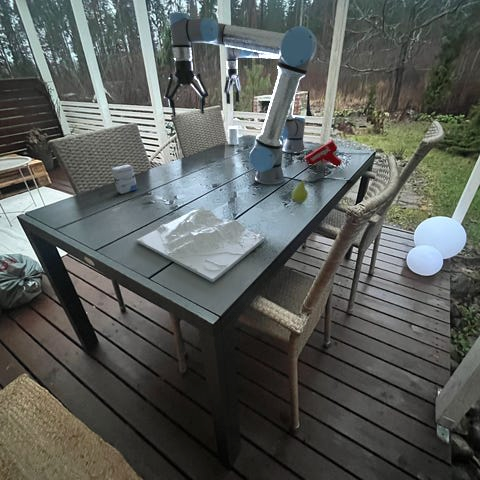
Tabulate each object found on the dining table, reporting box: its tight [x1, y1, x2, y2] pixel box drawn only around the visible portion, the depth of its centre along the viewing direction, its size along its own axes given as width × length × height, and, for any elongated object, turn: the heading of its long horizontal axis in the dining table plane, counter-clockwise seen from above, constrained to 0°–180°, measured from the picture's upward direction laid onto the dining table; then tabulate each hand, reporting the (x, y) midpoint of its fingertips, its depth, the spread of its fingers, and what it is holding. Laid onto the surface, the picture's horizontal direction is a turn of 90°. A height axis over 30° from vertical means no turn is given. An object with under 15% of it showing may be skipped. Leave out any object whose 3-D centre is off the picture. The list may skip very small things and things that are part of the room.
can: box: [227, 126, 239, 146], centre depth 210 cm, size 8×8×12 cm
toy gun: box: [304, 139, 342, 169], centre depth 162 cm, size 18×4×15 cm
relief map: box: [136, 206, 266, 283], centre depth 93 cm, size 27×35×5 cm
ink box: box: [110, 164, 138, 195], centre depth 131 cm, size 8×5×12 cm, turn 135°
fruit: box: [291, 174, 311, 204], centre depth 118 cm, size 7×8×12 cm
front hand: (188, 114), depth 127 cm, fingers open, 13 cm apart
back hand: (233, 102), depth 198 cm, fingers open, 13 cm apart
